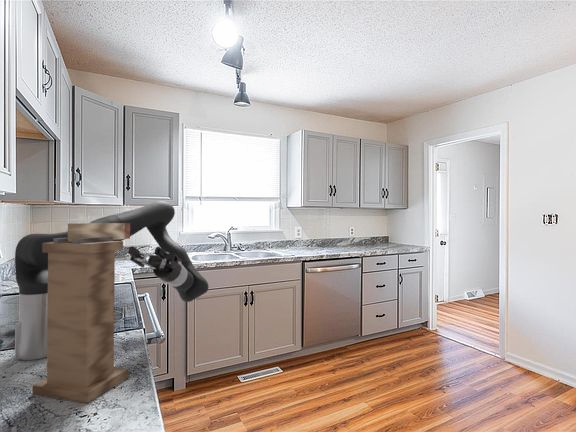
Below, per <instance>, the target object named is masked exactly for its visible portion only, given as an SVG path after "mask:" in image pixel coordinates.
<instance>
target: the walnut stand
mask: <svg viewBox="0 0 576 432" xmlns="http://www.w3.org/2000/svg"><path fill="white" fill-rule="evenodd" d="M123 250H124V240H122V241H113V237H96V238H78V239H73V242H68V238H55V239H53V242H51V243H42V252H46V253H48V311H47V357H46V379H43V380H40V381H39V382H37V383H34V384H32V396H36V397H44V398H50V399H56V400H57V399H58V400H64V401H71V402H77V403H83V404H89V403H91V402H92V401H93V400H95V399H97V398H98V397H100V396H101V395H103V394H104V393H106V392H107V391H109V390H111V389H113V388H114V387H115V386H118V385H119V384H121V383H122V382H123V381H125V380H126V379H127V378H129V377H130V375H129V374H130V373H129V372H130V371H129V370H130V369H129V368H128V367H122V366H121V367H118V366H115V282H116V281H115V280H116V279H115V277H116V276H115V274H116V273H115V271H116V270H115V269H116V268H115V267H116V263H115V260H116V254H115V253H116V251H123Z"/></svg>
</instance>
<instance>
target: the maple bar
mask: <svg viewBox="0 0 576 432" xmlns="http://www.w3.org/2000/svg"><path fill="white" fill-rule="evenodd" d="M67 231H68V242H73V239H78V238H96V237H113V240H116V239H125V240H127V239H128V240H129V239H131V236H130V223H90V222H89V223H87V222H86V223H84V222H83V223H76V222H75V223H74V222H73V223H68V222H67Z"/></svg>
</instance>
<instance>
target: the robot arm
mask: <svg viewBox="0 0 576 432" xmlns="http://www.w3.org/2000/svg"><path fill="white" fill-rule="evenodd" d="M175 214H176V210H175V208H174V206H173V205H172V204H171V203H170V202H167V201H163V200H158V201H157V200H156V201H153V202H151V203H149V204H147V205H144V206H141V207H139V208H136V209H131V210H127V211H123V212H120V213H116V214H110V215H107V216H104V217H103V216H102V217H100V218H97V219H94V220H92V221H90V222H89V223H130V237H132V236H133V235H135V234H137V233H138V232H140V231H142V230H143V229H147V231H148V232H149V233H150V235H151V236H152V238H153V239H154V241H155V243H157V244H158V246H156V247H155V250H154V254H153V253H150V252H141V251H140V250H139V249H137V247H135V246H129V249H128V251H127V253H128V254H129V255H130V260H129V261H132V263H134V264H135V265H137V266H138V267H141V268H145V266H147V267H149V268H150V269H152V270H153V274H154V276H155V277H157V278H158V279H160V280H161V281H163V282H164V283H165V284H166V285H169V286H171V287H172V288H174V289H175V290H176V291H177V292H178V293H177V294H178V295H179V298H180V299H181V300H182V301H183V302H185V303H190V302H192V301H194V300H196V299H197V298H199V297H201V296H203V295H204V294H206V293H208V291H209V283H208V280H207V279H206V278H204V276H203V275H202V274H201V273H200V272H199V271H198V270H197V268H196V267H195V266H194V265H193V262H192V261H191V259H190V256H189V254H188V253H187V251H186V250H185V248H184V247H182V246H181V245H180V244H179V243H177V242H176V241H174V239H172V238H171V236H170V234H169V232H168V231H167V230H168V229H167V226H168V225H169V224H170V222H171V221H172V220H173V218H174V217H175ZM55 238H68V230H67V231H63V232H57V233H56V232H55V233H30V234H27V235H25V236H23V237H21V239H20V240H19V241H18V242H17V245H16V248H15V251H14V252H15V253H14V263H15V264H14V265H15V280H16V284H17V286H18V321H17V322H16V323H15V324H14V325H15V326H14V360H23V361H33V360H39V359H44V358H47V311H48V253H46V252H42V243H51V242H53V239H55ZM124 240H126V239H116V240H113V241H124ZM147 258H148V259H147Z"/></svg>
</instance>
